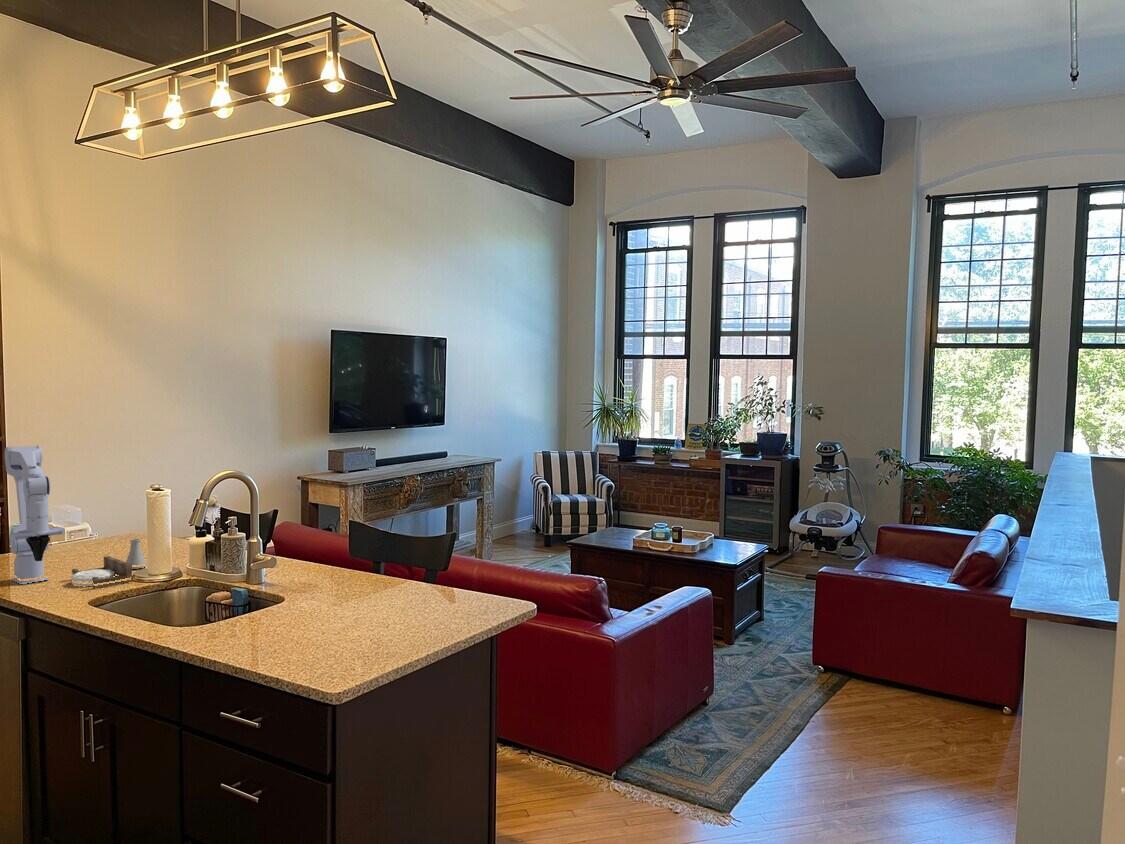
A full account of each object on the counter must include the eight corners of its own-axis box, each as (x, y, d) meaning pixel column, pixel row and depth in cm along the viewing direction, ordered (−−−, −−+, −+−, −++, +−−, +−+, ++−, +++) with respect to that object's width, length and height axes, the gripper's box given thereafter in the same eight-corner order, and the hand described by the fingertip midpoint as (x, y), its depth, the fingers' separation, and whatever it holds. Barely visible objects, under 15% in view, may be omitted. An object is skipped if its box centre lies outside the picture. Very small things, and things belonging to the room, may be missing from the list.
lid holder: (71, 579, 267) (70, 561, 267) (108, 573, 276) (108, 556, 276) (93, 589, 256) (93, 570, 255) (132, 582, 264) (131, 564, 264)
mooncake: (74, 590, 256) (74, 578, 256) (69, 582, 265) (68, 571, 265) (118, 584, 263) (117, 573, 263) (111, 577, 273) (110, 566, 272)
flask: (151, 566, 288) (151, 537, 287) (139, 571, 281) (138, 541, 280) (132, 565, 288) (131, 537, 288) (119, 570, 281) (118, 541, 281)
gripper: (14, 521, 244) (16, 566, 245) (68, 515, 255) (69, 558, 256) (6, 518, 249) (7, 563, 249) (59, 512, 260) (60, 555, 261)
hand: (38, 560), depth 253 cm, fingers closed
